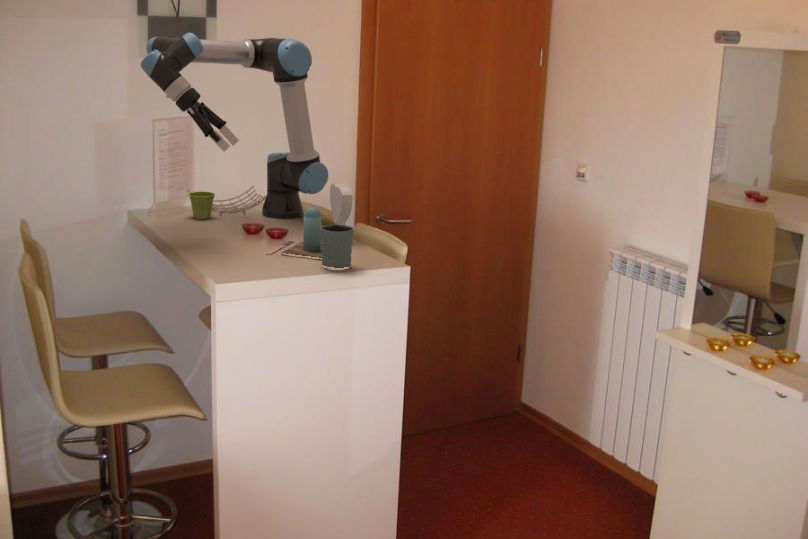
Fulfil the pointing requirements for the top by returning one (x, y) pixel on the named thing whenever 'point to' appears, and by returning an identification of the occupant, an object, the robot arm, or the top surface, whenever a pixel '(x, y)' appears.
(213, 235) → the top surface
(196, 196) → the plant pot
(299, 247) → the board
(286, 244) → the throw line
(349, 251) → the grey textured cup
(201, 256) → the top surface
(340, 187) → the heart sculpture
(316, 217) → the teal domed cylinder
